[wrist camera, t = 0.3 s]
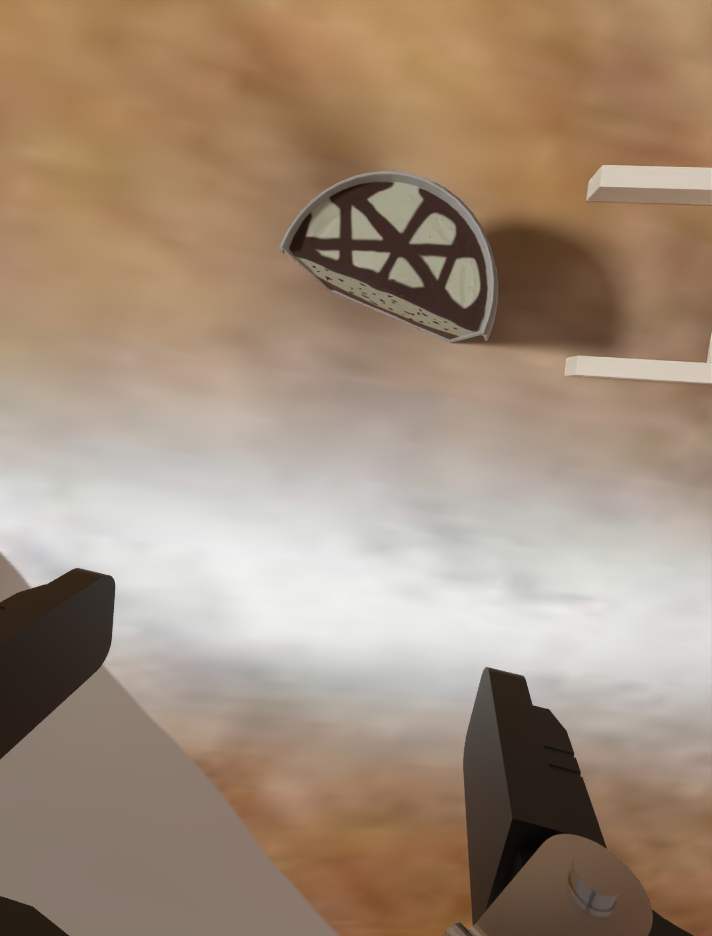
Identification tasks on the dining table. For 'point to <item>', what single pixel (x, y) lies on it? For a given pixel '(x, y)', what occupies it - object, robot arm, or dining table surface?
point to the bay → (647, 188)
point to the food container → (400, 252)
